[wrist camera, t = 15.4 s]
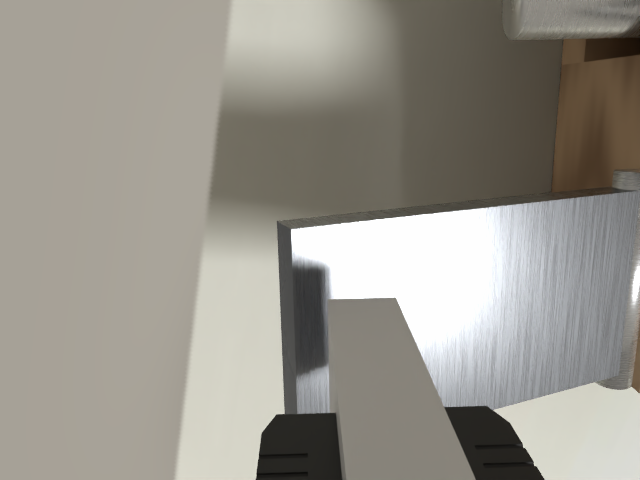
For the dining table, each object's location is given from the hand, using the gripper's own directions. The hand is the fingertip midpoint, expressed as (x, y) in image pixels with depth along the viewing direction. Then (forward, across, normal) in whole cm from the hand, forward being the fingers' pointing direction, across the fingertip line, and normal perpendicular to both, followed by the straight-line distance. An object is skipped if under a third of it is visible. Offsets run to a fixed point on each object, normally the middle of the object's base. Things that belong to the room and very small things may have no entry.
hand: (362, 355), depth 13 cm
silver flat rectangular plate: (+5, +9, 0) cm, 10 cm away
